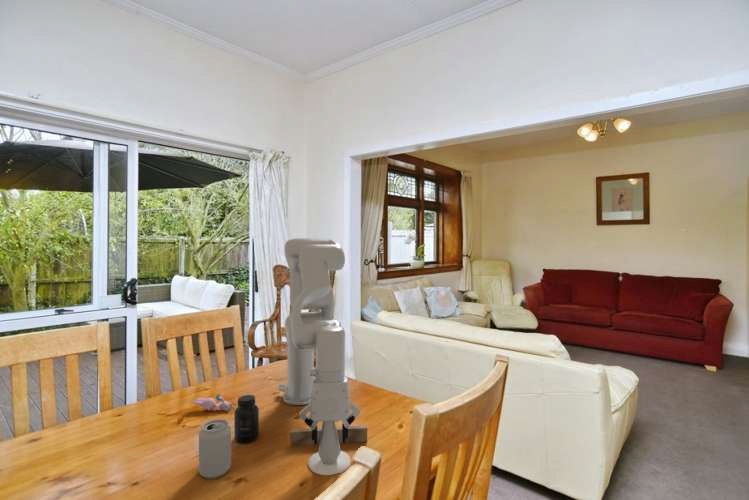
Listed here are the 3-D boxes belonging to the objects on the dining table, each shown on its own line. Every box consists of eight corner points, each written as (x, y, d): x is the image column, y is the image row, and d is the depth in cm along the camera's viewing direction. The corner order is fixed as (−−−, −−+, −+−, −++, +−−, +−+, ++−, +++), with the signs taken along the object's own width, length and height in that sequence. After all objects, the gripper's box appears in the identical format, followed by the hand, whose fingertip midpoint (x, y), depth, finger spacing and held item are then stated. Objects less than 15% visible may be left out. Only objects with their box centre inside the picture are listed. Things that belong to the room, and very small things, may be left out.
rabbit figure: (236, 409, 133) (194, 403, 132) (239, 393, 133) (196, 386, 132) (230, 418, 127) (185, 411, 126) (233, 400, 127) (188, 393, 126)
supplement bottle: (263, 434, 113) (263, 395, 113) (248, 446, 107) (249, 404, 107) (244, 430, 116) (244, 391, 115) (229, 441, 109) (229, 400, 109)
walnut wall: (289, 446, 107) (290, 432, 107) (290, 443, 109) (290, 429, 108) (367, 441, 110) (367, 428, 110) (366, 438, 112) (366, 425, 111)
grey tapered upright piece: (342, 454, 102) (341, 406, 102) (338, 467, 97) (337, 416, 97) (321, 453, 103) (320, 406, 103) (315, 465, 97) (315, 415, 97)
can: (205, 463, 99) (205, 417, 98) (234, 461, 99) (234, 416, 99) (193, 481, 91) (193, 432, 91) (225, 480, 92) (225, 431, 92)
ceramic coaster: (300, 470, 96) (300, 469, 96) (319, 448, 106) (319, 446, 106) (341, 478, 93) (341, 477, 93) (356, 454, 103) (356, 453, 103)
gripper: (295, 380, 94) (295, 451, 95) (364, 378, 96) (364, 447, 97) (297, 370, 102) (297, 436, 102) (361, 368, 104) (361, 432, 104)
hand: (329, 441), depth 99 cm, fingers open, 6 cm apart
